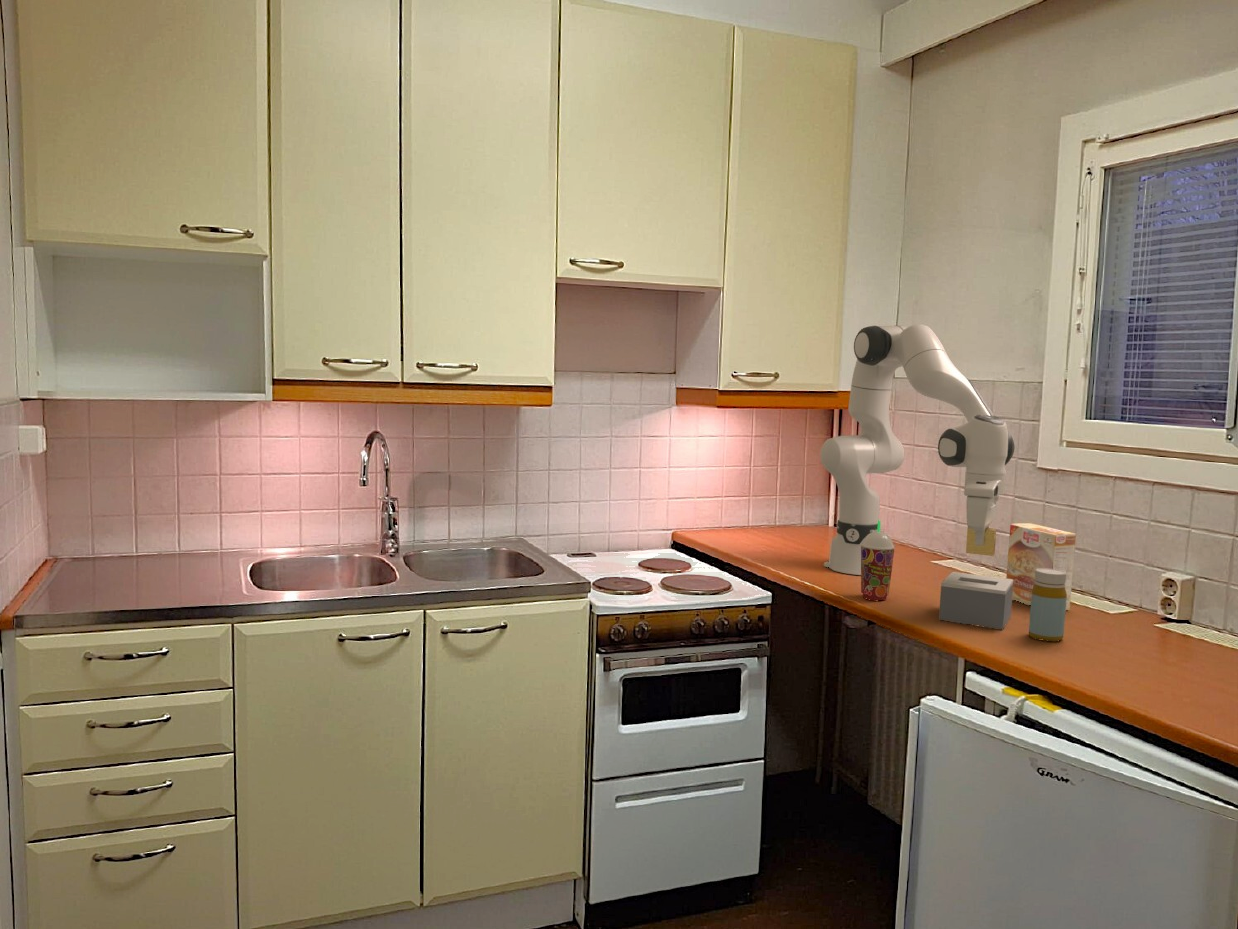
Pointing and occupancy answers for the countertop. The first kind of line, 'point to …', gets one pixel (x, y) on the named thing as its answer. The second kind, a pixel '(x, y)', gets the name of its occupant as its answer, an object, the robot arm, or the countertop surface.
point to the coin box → (976, 600)
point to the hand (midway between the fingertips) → (980, 543)
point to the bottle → (1048, 605)
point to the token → (987, 547)
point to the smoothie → (876, 565)
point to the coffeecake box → (1038, 557)
